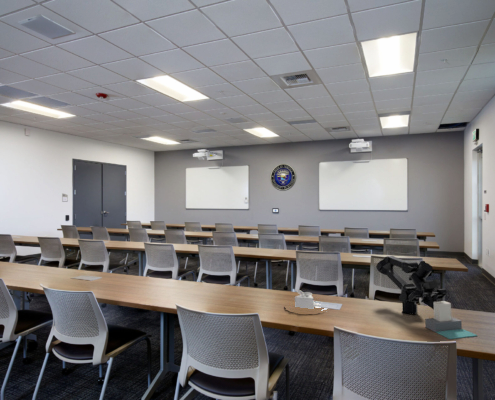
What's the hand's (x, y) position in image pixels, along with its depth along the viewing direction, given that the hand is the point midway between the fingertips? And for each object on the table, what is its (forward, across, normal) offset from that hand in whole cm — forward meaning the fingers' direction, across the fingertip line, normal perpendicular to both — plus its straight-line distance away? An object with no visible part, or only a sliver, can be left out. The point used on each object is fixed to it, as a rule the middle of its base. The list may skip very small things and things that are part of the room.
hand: (437, 310), depth 164 cm
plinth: (+8, 0, +3) cm, 8 cm away
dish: (-26, -50, +36) cm, 67 cm away
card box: (+5, 0, 0) cm, 5 cm away
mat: (+13, 0, -3) cm, 13 cm away
